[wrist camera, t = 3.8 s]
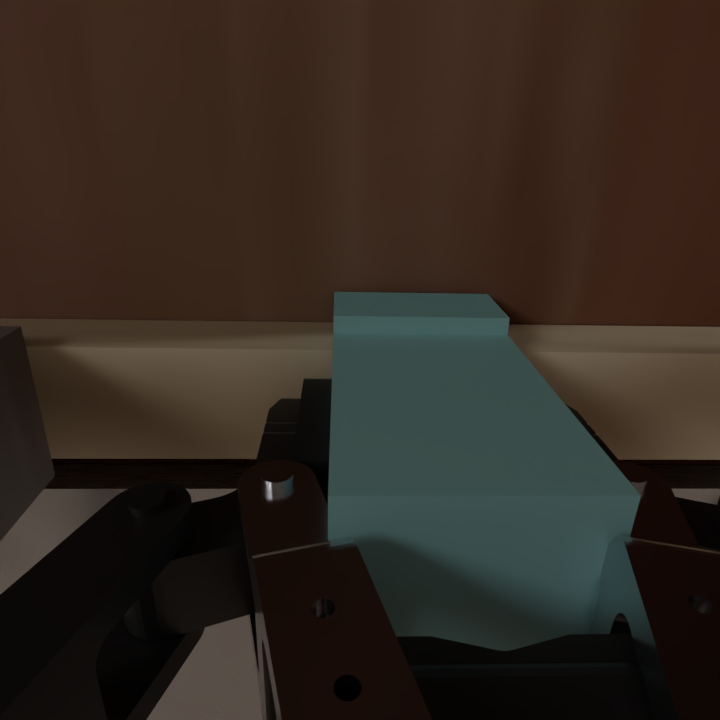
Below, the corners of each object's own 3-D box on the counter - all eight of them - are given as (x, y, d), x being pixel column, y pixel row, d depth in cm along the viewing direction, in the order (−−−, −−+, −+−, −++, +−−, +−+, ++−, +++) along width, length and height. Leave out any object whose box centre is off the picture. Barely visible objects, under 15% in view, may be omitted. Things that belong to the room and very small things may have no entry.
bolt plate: (-81, 464, 16) (-133, 505, 14) (783, 465, 17) (834, 504, 15) (5, 716, 20) (-27, 772, 18) (691, 704, 21) (722, 756, 19)
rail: (-219, 297, 14) (-865, 487, 6) (842, 311, 15) (1335, 486, 8) (-82, 638, 18) (-364, 977, 11) (719, 629, 20) (950, 931, 12)
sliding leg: (334, 291, 14) (328, 468, 7) (487, 294, 14) (647, 469, 7) (332, 639, 19) (327, 966, 11) (446, 637, 19) (514, 959, 12)
